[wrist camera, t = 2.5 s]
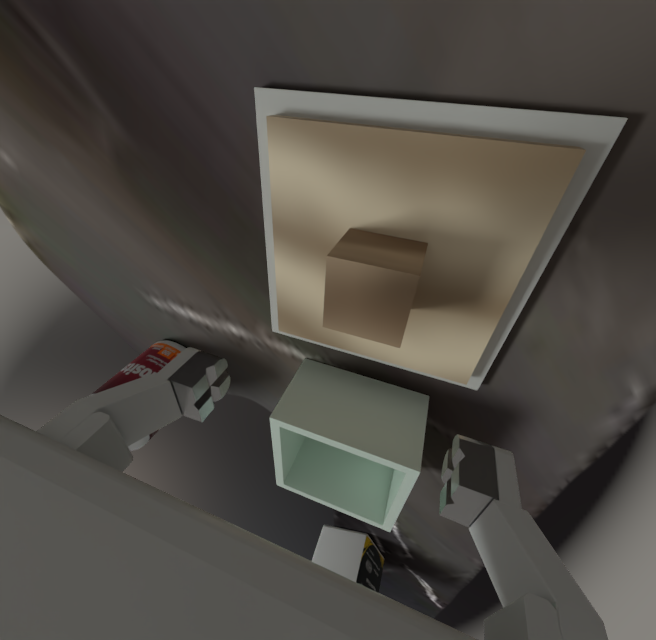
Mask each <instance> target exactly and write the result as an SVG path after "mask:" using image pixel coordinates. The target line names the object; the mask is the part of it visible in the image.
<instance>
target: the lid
mask: <svg viewBox="0 0 656 640" xmlns="http://www.w3.org/2000/svg"><path fill="white" fill-rule="evenodd" d="M266 119H267V136H268V154H269V171H270V189H271V206H272V223H273V241H274V258H275V276H276V293H277V310H278V328H279V331H281V332H285V333H288V334H292V335H295V336H298V337H302V338H305V339H309V340H312V341H316V342H319V343H323V344H326V345H330V346H333V347H337V348H340V349H344V350H347V351H351V352H354V353H358V354H361V355H365V356H368V357H371V358H375V359H378V360H382V361H385V362H389V363H392V364H396V365H399V366H403V367H406V368H410V369H413V370H417V371H420V372H424V373H427V374H431V375H434V376H438V377H441V378H445V379H448V380H451V381H455V382H458V383H462V384H465V385H467V383H468V381H469V379H470V377H471V375H472V373H473V371H474V369H475V367H476V365H477V363H478V361H479V359H480V357H481V355H482V353H483V351H484V349H485V347H486V346H487V344H488V342H489V340H490V338H491V336H492V334H493V332H494V330H495V328H496V326H497V324H498V322H499V320H500V318H501V316H502V314H503V312H504V310H505V308H506V306H507V304H508V302H509V300H510V299H511V297H512V295H513V293H514V291H515V289H516V287H517V285H518V283H519V281H520V279H521V277H522V275H523V273H524V271H525V269H526V267H527V265H528V263H529V261H530V259H531V257H532V255H533V253H534V252H535V250H536V248H537V246H538V244H539V242H540V240H541V238H542V236H543V234H544V232H545V230H546V228H547V226H548V224H549V222H550V220H551V218H552V216H553V214H554V212H555V210H556V208H557V206H558V205H559V203H560V201H561V199H562V197H563V195H564V193H565V191H566V189H567V187H568V185H569V183H570V181H571V179H572V177H573V175H574V173H575V171H576V169H577V167H578V165H579V163H580V161H581V159H582V158H583V156H584V154H585V152H586V150H585V149H583V148H581V147H576V146H567V145H557V144H548V143H538V142H529V141H519V140H510V139H500V138H490V137H481V136H471V135H462V134H452V133H443V132H433V131H424V130H414V129H404V128H395V127H385V126H376V125H366V124H357V123H347V122H337V121H328V120H318V119H309V118H299V117H290V116H280V115H270V116H266Z"/></svg>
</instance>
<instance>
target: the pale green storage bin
mask: <svg viewBox="0 0 656 640" xmlns="http://www.w3.org/2000/svg"><path fill="white" fill-rule="evenodd" d="M428 404H429V396H428V395H425V394H421V393H418V392H415V391H412V390H408V389H405V388H402V387H398V386H395V385H392V384H389V383H385V382H382V381H379V380H375V379H372V378H369V377H366V376H362V375H359V374H356V373H352V372H349V371H346V370H342V369H339V368H336V367H333V366H329V365H326V364H323V363H319V362H316V361H313V360H310V359H306V358H305V359H304V361H303V362H302V364H301V366H300V367H299V369H298V371H297V372H296V374H295V376H294V377H293V379H292V381H291V382H290V384H289V386H288V387H287V389H286V391H285V392H284V394H283V396H282V397H281V399H280V401H279V402H278V404H277V406H276V407H275V409H274V411H273V412H272V414H271V416H270V425H271V436H272V445H273V454H274V464H275V474H276V483H277V485H278V486H281V487H283V488H285V489H288V490H290V491H293V492H295V493H298V494H300V495H302V496H304V497H307V498H309V499H312V500H314V501H316V502H319V503H321V504H324V505H326V506H328V507H331V508H333V509H336V510H338V511H340V512H343V513H345V514H347V515H350V516H352V517H355V518H357V519H359V520H362V521H364V522H367V523H369V524H371V525H374V526H376V527H378V528H381V529H383V530H386V531H388V532H390V531H391V529H392V527H393V525H394V523H395V521H396V519H397V517H398V515H399V513H400V511H401V509H402V507H403V505H404V503H405V501H406V499H407V497H408V495H409V494H410V492H411V490H412V488H413V486H414V484H415V482H416V480H417V478H418V476H419V474H420V470H421V462H422V454H423V446H424V437H425V429H426V421H427V412H428Z"/></svg>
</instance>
